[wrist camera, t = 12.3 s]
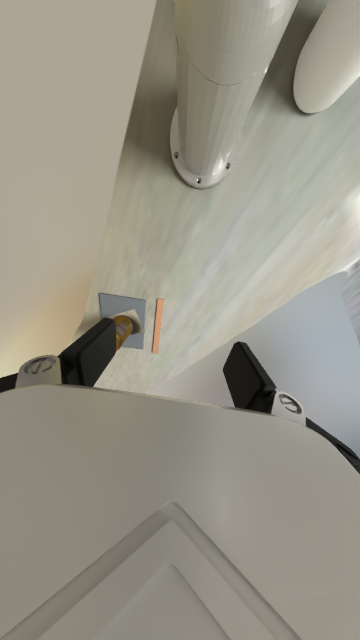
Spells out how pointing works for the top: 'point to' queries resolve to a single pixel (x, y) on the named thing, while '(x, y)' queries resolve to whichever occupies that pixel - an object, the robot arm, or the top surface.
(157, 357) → the top surface
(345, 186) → the top surface
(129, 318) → the condiment
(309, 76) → the alcohol
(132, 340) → the mat
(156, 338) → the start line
